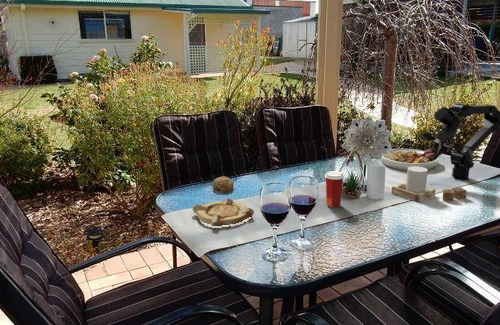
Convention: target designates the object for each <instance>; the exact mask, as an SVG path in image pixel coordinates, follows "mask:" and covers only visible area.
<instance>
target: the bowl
mask: <svg viewBox="0 0 500 325" xmlns="http://www.w3.org/2000/svg"><path fill="white" fill-rule="evenodd" d="M389 150H390V151H389V152H388V153H387V154H385V155H383V156H382V159H380V161H381V162H382V164H384V165H385V166H387V167H389V168H392V169H395V170H396V169H397V170H402V171H407V170H408V167H412V166H418V167H424V168H426V169H428V170H431V169H433V168H435V167H436V166H437V165H438V163H439V161H440V158H439V157H440V156H439V157H438V158H437V159H434V153H435V152H434V151H433V149H431V148H429V149H425V150H420V149H413V148H392V149H389Z"/></svg>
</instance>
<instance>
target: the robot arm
mask: <svg viewBox="0 0 500 325" xmlns="http://www.w3.org/2000/svg"><path fill="white" fill-rule="evenodd" d="M478 114H479V115H481V114H482V115H483V118H484V121H483V126H482V127H481V128H480V129H479V130H478V131H477V132H476V134H474V135H473V136H472V138H470V139H469V141H467V142H466V143H465V144H464V145H462V144H460V143H457V142H456V143H452V141H454V140H455V138H456V134H457V131H458V130H459V127H460V126H461V125H465V124H466V123H465V120H464V118H468V117H470V116H472V115H478ZM434 119H435V120H436V121H438V122H439V123H440V124H442V125H444V127H442V129H441V130H438V131H437V134H436V136H435V135H434V134H433V133H431V132H428V131H424V132H423V133H422V139H424V140H427V141H429V142H432V141H433V145H434V152H433V153H434V159H437V158H438V157H440V156H441V155H443V154H444V153H445V152H447V151H451V148H452V152H451V154H450V156H449V158H450V162H451V165H453V167H452V171H451V177H453V179H454V180H457V181H458V180H460V181H469V180H470V178H469V176H470V169H472V168H473V167H474V166H475V163H474V161H473V160H472V159H473V154H474V152H475V151H476V150H477V149H478V148H479V147H480V146H481V145H482V144H483V143H484V142H485V141H486V140H487V139H488V138H489V137H490V135H492V134H493V133H495V132H498V131H500V110H499V109H498V108H497V106H496V105H495V104H494V105H493V104H474V105H470V104H466V103H465V104H464V103H459V102H457V103H456V102H455V103H453V105H451V107H447V106H442V107H441V108H439V109H438V110H437V111H436V112H435V113H434Z"/></svg>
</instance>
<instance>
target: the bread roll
mask: <svg viewBox="0 0 500 325" xmlns="http://www.w3.org/2000/svg"><path fill="white" fill-rule="evenodd" d="M212 189H213V191H214V192H215V191H216V193H229V192H230V193H231V192H232V191H233V189H234V181H233V180H232V179H231V178H230V177H227V176H225V175H223V176H220V177H217V178H215V179H214V180H213V182H212Z"/></svg>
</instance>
